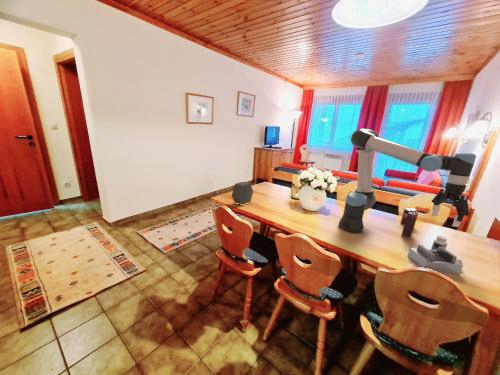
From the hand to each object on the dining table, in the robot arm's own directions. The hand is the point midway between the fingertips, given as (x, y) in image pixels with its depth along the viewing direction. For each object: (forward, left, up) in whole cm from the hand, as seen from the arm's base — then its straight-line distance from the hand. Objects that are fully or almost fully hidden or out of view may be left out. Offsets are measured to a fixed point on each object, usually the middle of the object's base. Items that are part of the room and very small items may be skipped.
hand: (444, 220), depth 112 cm
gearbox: (-10, -16, -18) cm, 26 cm away
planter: (-117, +49, -18) cm, 128 cm away
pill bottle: (-1, -4, -18) cm, 19 cm away
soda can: (+5, +33, -18) cm, 38 cm away
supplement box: (-6, +15, -18) cm, 24 cm away
